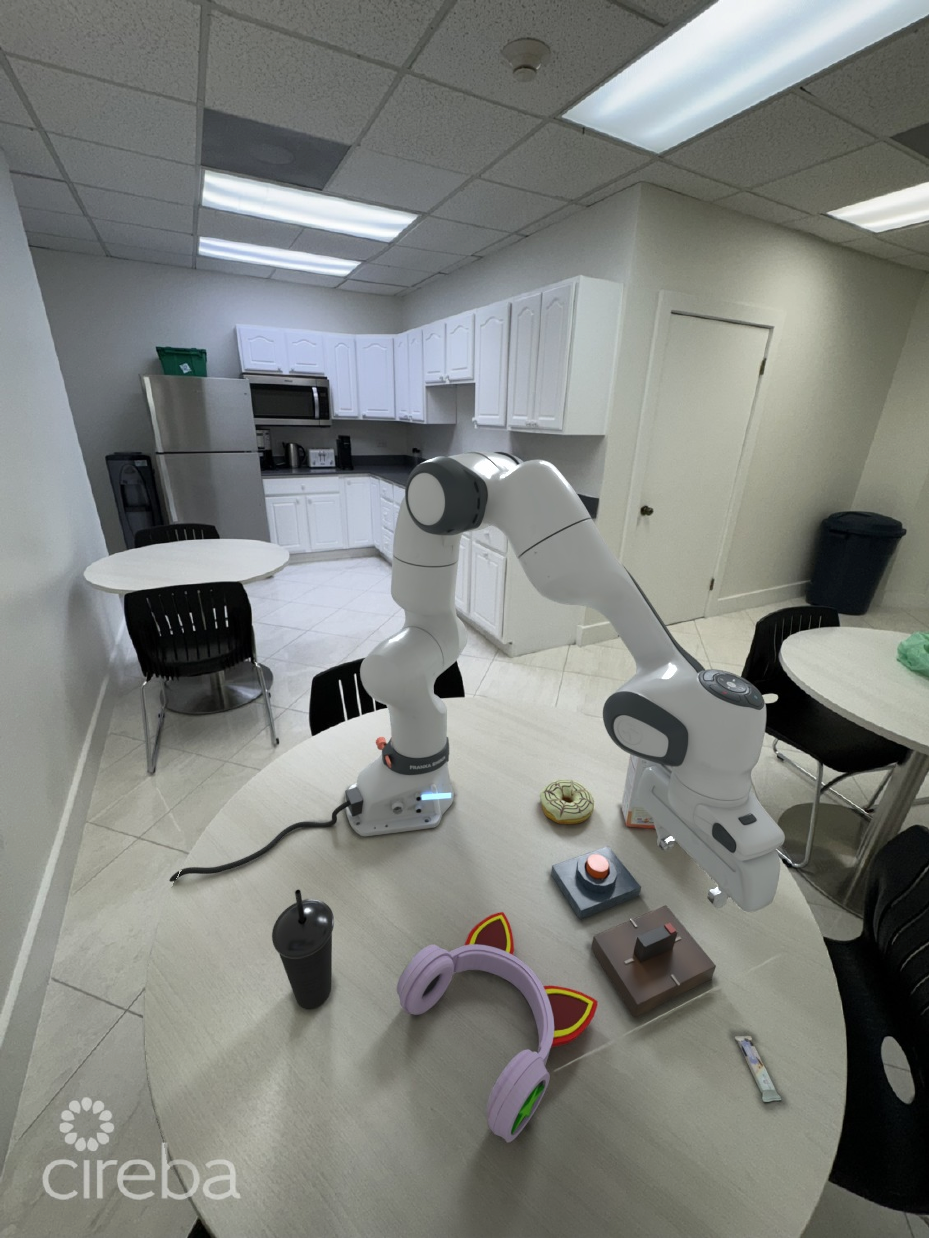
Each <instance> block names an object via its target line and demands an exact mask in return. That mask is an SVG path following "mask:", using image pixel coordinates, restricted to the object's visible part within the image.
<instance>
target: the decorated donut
mask: <svg viewBox="0 0 929 1238" xmlns="http://www.w3.org/2000/svg"><path fill="white" fill-rule="evenodd" d="M539 799H540V805H541V809H542V811H543V814H544V815H545V817H546V818H548V819H549V820H551V821H553V822H555V823H557V824H562V825H574V824H581V823H582V822H585V821H586V820H587V819H588V818H590V817H591V816H592V813H593V811H594V806H595V798H594V796H593V795H592V793H591V792H590V791H589V790H588V789H587V788H586V787H585V785H583V784H581V783H580V782H578V781H575V780H572V779H561V778H559V779H556V780H554V781H550V782H549V783H548V784H547V785H545V787H544V788H543V789H541V791H540V792H539Z"/></svg>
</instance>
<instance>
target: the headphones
mask: <svg viewBox="0 0 929 1238" xmlns="http://www.w3.org/2000/svg"><path fill="white" fill-rule="evenodd" d="M514 952H515V946H514V935H513V931H512V927H511V924H510V922H509V919H508V916H507V915H506V914H505V913H504V912H503V911H500V912H496V913H493V914H490V915H489V916H487V917H485V918H484V919H483V920H481V921H480V922H478V923H477V924H476V925H475V926H474V927H473V928H472V929H471V930H470V932H469V933H468V934H467V938H466V941H465V943H464V945H461V946H459V947H456V948H453V949H452V950H451V951H448V950H447V949H445V948H442V947H439V946H438V945H437V944H429V945H427V946H425V947H424V948H422V949H421V950H419V951H418V952H417V953H416V954H415V955H414V956H413V957H412V958H410V960H409V962H408V963H407V964H406V966H405V967H404V969H403V970H402V972H401V974H400V976H399V978H398V981H397V984H396V994H397V995H398V997H399V1004H400V1006H401V1008H402V1009H403V1011H404V1012H405V1013H406V1014H412V1016H417V1015H422V1014H424V1013H426V1012H427V1011H429V1010H430V1009H431V1008H433V1006H435V1004H437V1003H438V1001H439V1000H440V999H442V996H444V994H445V992H446V991H447V989H448V987H449V986H450V983H451V982H452V979H453V977H454V973H455V974H459V973H461V972H464V971H481V972H486V973H489V974H492V975H495V976H498V977H500V978H502V979H504V980H506V981H508V982H509V983H511V984H512V985H513V986H515V988H517V989H518V990H519V991H520V993H521V994H522V995H523V996H524V999H526V1001H527V1003H528V1005H529V1007H530V1009H531V1011H532V1014H533V1017H534V1021H535V1024H536V1027H537V1028H536V1029H537V1034H538V1046H537V1047H538V1049H537V1051H535V1050H534V1051H532V1050H530V1049H523V1050H521V1051H520V1052H518V1053H517V1054H516V1055H515V1056H514V1057H513V1058H511V1060H510V1061H509V1062H508V1063H507V1065H506V1066H505V1068H503V1070H502V1071H501V1073H500V1075H498V1078H497V1080H495V1083H494V1085H493V1087H492V1089H491V1092H490V1094H489V1097H488V1099H487V1103H486V1107H485V1112H486V1117H487V1119H488V1121H487V1125H488V1127H489V1129H490V1131H492V1133H493V1134H494V1135H496V1136H498V1137H501V1138H502V1139H504V1140H505V1142H506V1143H511V1142H513V1141H514V1140H515V1139H516V1138H517V1137H518V1136H519V1135H520V1133H522V1131H523V1130H524V1128H525V1127H526V1126H527V1124H528V1123H529V1122H530V1120H531V1119H532V1117H533V1115H534V1114H535V1112H536V1110H537V1109H538V1107H539V1105H540V1103H541V1101H542V1099H543V1097H544V1095H545V1093H546V1091H547V1088H548V1086H549V1082H550V1079H551V1075H550V1073H549V1072H548V1069H547V1067H546V1065H547V1062H548V1058H549V1055H550V1053H551V1049H552V1048H556V1047H559V1046H563V1045H567V1044H569V1043H572V1042H573V1041H574V1040H576V1039H577V1038H578V1037H579V1036H580V1035H581V1034H582V1033H583V1032H584V1031H585V1030H586V1029H587V1027H588V1026H589V1025H590V1023H591V1022H592V1020H593V1018H594V1017H595V1014H596V1011H597V1008H598V1004H599V1003H598V1001H597V999H595V998H594V997H592V996H590V995H588V994H586V993H583V992H581V991H579V990H575V989H572V988H567V987H564V986H558V985H543V983H542V981H541V980H540V979H539V977H538V976H537V975H536V973H535V972H534V970H532V969H531V968H530V967H529V966H528V965H527V964H526V963H525V962H524V961H522V960H521V959H520V958H518V957H517V956H515V955H514Z"/></svg>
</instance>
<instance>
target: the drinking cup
mask: <svg viewBox="0 0 929 1238" xmlns="http://www.w3.org/2000/svg"><path fill="white" fill-rule="evenodd" d="M294 895H295V902H294V903H293V904H291V905H289V906H288V907H286V908H285V909H284V910H283V911H282V912H281V913H280V914H279V915H278V917H277V919H276V920H275V923H274V925H273V927H272V932H271V940H272V945H273V948H275V951H276V952H277V953H278V955H279V957H280V961H281V963H282V966H283V968H284V970H285V973H286V977H287V979H288V982H289V985H290V987H291V990H292V993H293V996H294V998H295V1001H296V1003H297V1005H298V1006H299V1007H300V1008H302V1009H304V1010H308V1011H310V1010H315V1009H317V1008H319V1007H321V1006H323V1004H324V1003H325V1002H326V1001H328V998H329V996H330V995H331V991H332V973H333V971H332V965H333V964H332V963H333V962H332V961H333V957H332V956H333V931H334V926H335V918H334V917H335V916H334V913H333V911H332V909H331V907H330V906H329V905H328V904H327V903H326V902H325V901H322V900H320V899H316V898H315V899H314V898H306V899H303V897H302V891H301V889H300V888H299V889H296V890H295V891H294Z"/></svg>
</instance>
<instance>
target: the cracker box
mask: <svg viewBox="0 0 929 1238" xmlns="http://www.w3.org/2000/svg"><path fill="white" fill-rule="evenodd" d="M646 764H647V760H645V759H642V758H639V757H637V756H634V755H631V754H629V759H628V765H627V771H626V776H625V783H624V787H623V788H624V789H623V793H622V800H621V805H620V807H621V812H622V815H623V819H624V823H625V826H626V827H628V828H629V827H630V828H641V829H655V825H654V818H653V817H652V816H651V815H650V814H649V813H648V812H647V811H646V810H645V809H644V808H643V807H642V806H641V805H640V804H639V801H638V798H637V791H638V787H639V783H640V780H641V777H642V774H643V772H644V771H645V769H646ZM655 830H656V829H655Z"/></svg>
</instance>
